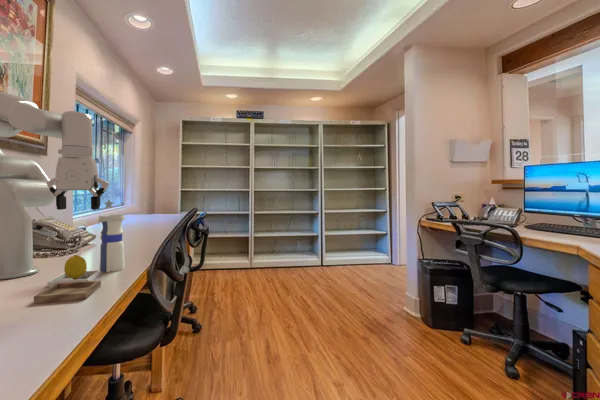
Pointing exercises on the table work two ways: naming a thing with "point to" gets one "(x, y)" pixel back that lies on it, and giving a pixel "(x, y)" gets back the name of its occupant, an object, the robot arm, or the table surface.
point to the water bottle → (111, 242)
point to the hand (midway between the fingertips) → (78, 209)
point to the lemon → (75, 267)
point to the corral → (88, 273)
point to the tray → (67, 291)
